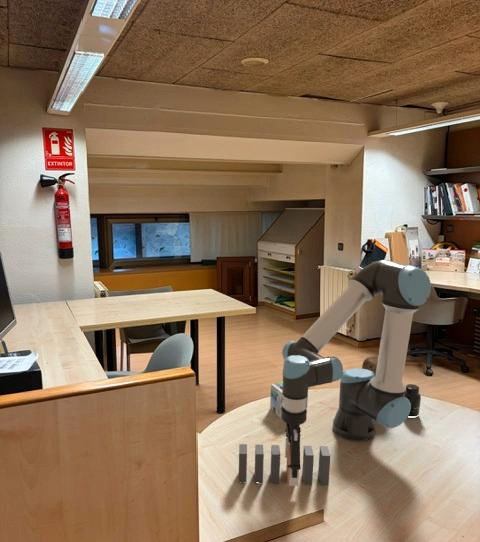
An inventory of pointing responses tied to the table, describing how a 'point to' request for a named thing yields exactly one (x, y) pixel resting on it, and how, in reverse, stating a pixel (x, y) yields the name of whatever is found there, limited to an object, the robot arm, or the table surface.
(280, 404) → the light bulb box
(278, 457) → the domino
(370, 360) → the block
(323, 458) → the domino
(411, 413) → the supplement bottle
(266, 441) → the table surface
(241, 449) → the domino
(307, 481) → the domino
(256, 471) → the domino
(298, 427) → the robot arm
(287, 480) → the domino
